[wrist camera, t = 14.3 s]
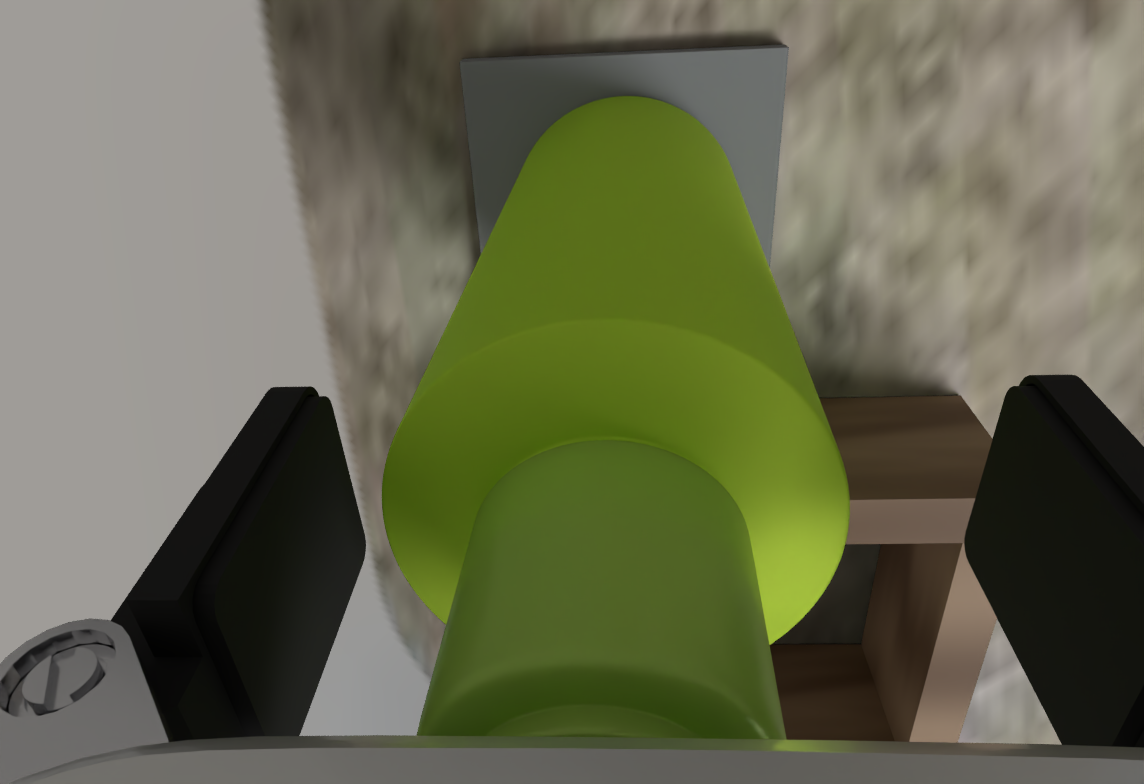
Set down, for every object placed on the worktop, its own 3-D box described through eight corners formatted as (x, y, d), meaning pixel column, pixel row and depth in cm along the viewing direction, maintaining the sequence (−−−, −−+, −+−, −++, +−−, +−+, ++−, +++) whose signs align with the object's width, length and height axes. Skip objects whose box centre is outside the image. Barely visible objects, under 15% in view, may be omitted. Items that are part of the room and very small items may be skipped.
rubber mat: (462, 58, 20) (459, 61, 20) (784, 44, 20) (788, 47, 19) (496, 370, 25) (494, 378, 24) (758, 364, 24) (760, 372, 24)
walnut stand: (555, 403, 25) (544, 503, 21) (960, 395, 25) (1035, 497, 20) (573, 671, 32) (568, 790, 27) (894, 671, 31) (941, 792, 27)
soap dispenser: (442, 207, 22) (-319, 1306, 4) (656, 44, 19) (810, 1079, 2) (571, 364, 24) (396, 1515, 7) (778, 236, 21) (1353, 1525, 4)
